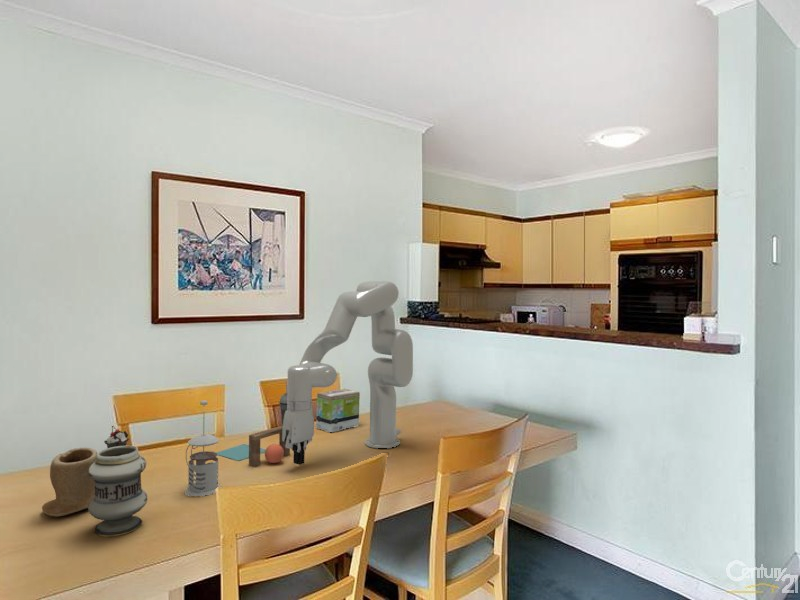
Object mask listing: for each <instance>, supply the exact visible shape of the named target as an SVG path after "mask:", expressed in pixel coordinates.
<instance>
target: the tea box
mask: <svg viewBox="0 0 800 600" xmlns="http://www.w3.org/2000/svg"><path fill="white" fill-rule="evenodd" d="M360 394H361V393H360V391H356V390H352V389H346V388H343V389H335V390H330V391H329V390H328V391H322V392H317V394H316V419H315V420H316V421H315V423H316V425H315V427H316V429H317V428H318V429H317V430H320V429H321V431H323V430H324V432H326V431H328V432H327V433H330V432H332V433H334V432H335V433H336V432H339V431H343V429H344V430H347V429H346V428H349V429H351V428H350V427H354V426H357V425H359V423H360V398H361V397H360ZM359 426H360V425H359ZM354 428H355V427H354Z"/></svg>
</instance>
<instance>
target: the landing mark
mask: <svg viewBox="0 0 800 600" xmlns="http://www.w3.org/2000/svg"><path fill="white" fill-rule="evenodd" d="M266 449H267V448H261V447H260V455H261V453H262V454H265V451H266ZM216 453H217V456H220V457H223V458H227V459H229V460H234V461H237V462H240V461H244V460H246V459H249V444H245V443H242V444H239V445H236V446H232V447H230V448H226V449H223V450H220V451H217V452H216Z"/></svg>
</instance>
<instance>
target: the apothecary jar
mask: <svg viewBox="0 0 800 600" xmlns="http://www.w3.org/2000/svg"><path fill="white" fill-rule="evenodd" d="M146 467H147V460H146V459H145V458H144V456H142V455H141V454H140V452H139V448H138V447H137V446H135V445H126V446H117V447H111V448H107V447H106V448H104V449H101V450H100V451H97V458H96V461H95V462H94V463H93V464H92V465H91V466H90V468H89V471H88V473H89V476H90V477H91V478H92V479H93V480H94V481H95V496H94V498H93V499H92V500H91V502H90V504H89V507H88V508H87V509H88V513H89V514H90V515H91V516H92V518H94V519H97V520H101V522H99V523H97V525H95V527H94V529H93V533H94V534H97V536H99V537H104V538H105V537H106V538H109V537H111V538H112V537H118V536H123V535H126V534H129V533H131V532H134V531H136V530H137V529H139V528H140V527H141V526H142V523H143V520H142V519H141V518H140V516H137V515H136V514H137V513H138V512H140V511H142V509H143V508H144V507H145V506H146V505H147V502H148V494H147V492H146V491H145V490H144V489H143V488H142V474H141V473H143V472H144V471H145V470H146Z"/></svg>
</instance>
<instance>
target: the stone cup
mask: <svg viewBox="0 0 800 600" xmlns="http://www.w3.org/2000/svg"><path fill="white" fill-rule="evenodd" d="M97 454H98V451H97V450H96V449H94V448H91V447H77V448H72V449H69V450H67V451H65V452H63V453H59V454H58V455H56V456H55V457H54V458H53V459H52V461H51V463H50V467H49V477H50V478H49V479H50V482H51V485H52V488H53V490H54V493H55V499H51V500H49V501H47V502H45V503H44V504H43V505H42V507H41V511H42V512H43V514H45V515H47V516H49V517H63V516H67V515H70V514H75V513H77V512H80V511H83V510H86V509H88V507H89V504H90V502H91V500H92V499H93V498H94V496H95V481H94V480H93V479H92V478H91V477H90V476H89V473H88V471H89V468H90V466H91V465H92V464H93V463H94V462H95V461H96V458H97Z"/></svg>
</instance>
